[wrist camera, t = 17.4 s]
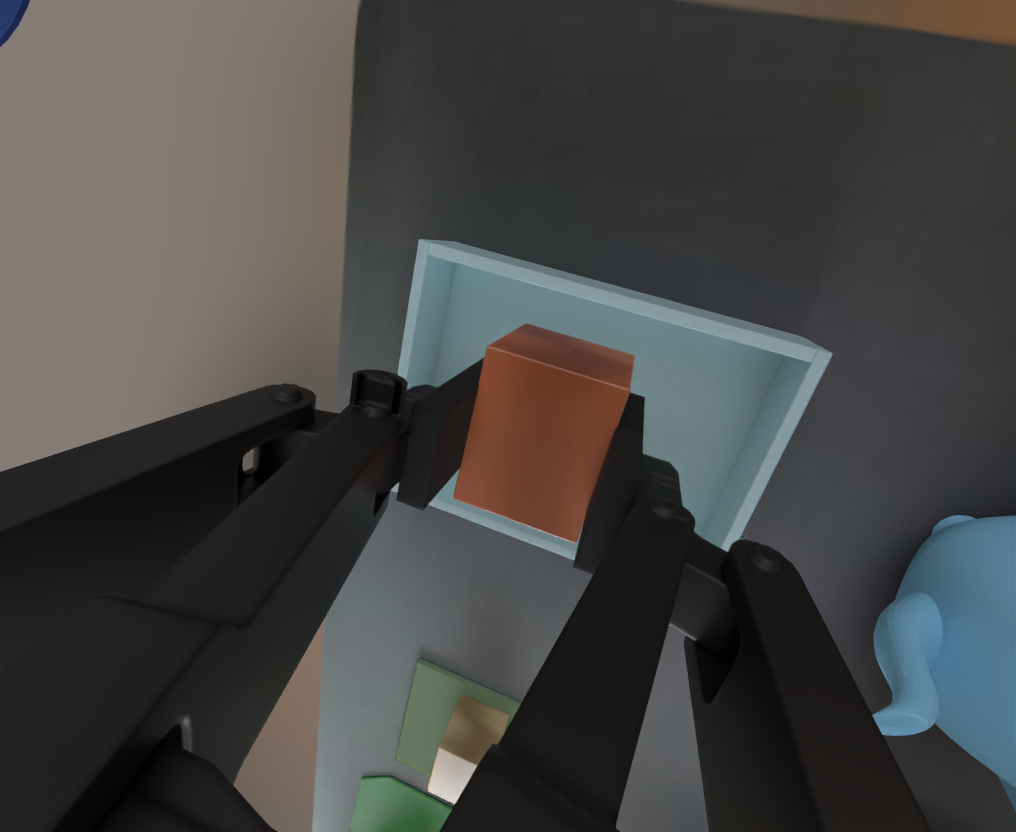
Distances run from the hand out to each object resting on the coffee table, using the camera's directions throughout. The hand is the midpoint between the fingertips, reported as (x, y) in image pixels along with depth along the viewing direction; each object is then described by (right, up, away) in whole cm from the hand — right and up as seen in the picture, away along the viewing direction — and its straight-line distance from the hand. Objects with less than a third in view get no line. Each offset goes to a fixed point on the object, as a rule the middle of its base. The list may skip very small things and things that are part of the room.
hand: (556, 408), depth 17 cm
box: (+2, 0, +12) cm, 12 cm away
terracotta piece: (0, 0, +1) cm, 1 cm away
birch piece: (-4, -25, +21) cm, 33 cm away
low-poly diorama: (-7, -40, +28) cm, 49 cm away
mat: (-5, -27, +23) cm, 35 cm away
